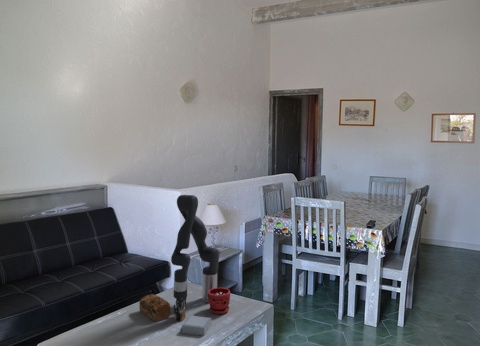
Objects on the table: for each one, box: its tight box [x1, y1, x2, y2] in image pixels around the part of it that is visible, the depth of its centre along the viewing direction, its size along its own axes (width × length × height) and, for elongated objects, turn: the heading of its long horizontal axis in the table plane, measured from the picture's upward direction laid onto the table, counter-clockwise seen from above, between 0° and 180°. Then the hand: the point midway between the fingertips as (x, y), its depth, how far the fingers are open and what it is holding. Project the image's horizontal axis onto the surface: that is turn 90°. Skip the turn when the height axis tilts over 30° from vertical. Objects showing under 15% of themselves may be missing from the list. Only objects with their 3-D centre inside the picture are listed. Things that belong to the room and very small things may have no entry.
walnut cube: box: [174, 308, 186, 322], centre depth 218 cm, size 4×4×5 cm
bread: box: [139, 293, 172, 322], centre depth 222 cm, size 19×11×10 cm, turn 41°
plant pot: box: [208, 287, 231, 315], centre depth 229 cm, size 13×13×12 cm
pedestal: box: [181, 315, 212, 337], centre depth 206 cm, size 12×12×4 cm
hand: (180, 318), depth 218 cm, fingers closed on walnut cube, 4 cm apart
